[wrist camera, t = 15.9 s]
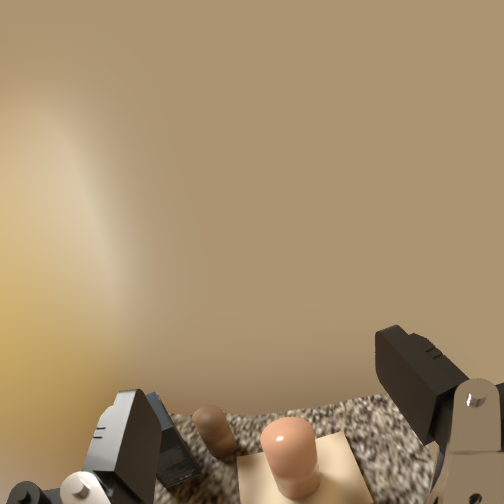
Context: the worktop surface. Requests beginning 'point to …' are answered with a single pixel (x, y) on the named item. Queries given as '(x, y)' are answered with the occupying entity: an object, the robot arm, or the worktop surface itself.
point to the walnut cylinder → (215, 431)
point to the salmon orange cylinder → (292, 456)
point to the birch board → (331, 474)
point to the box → (171, 449)
